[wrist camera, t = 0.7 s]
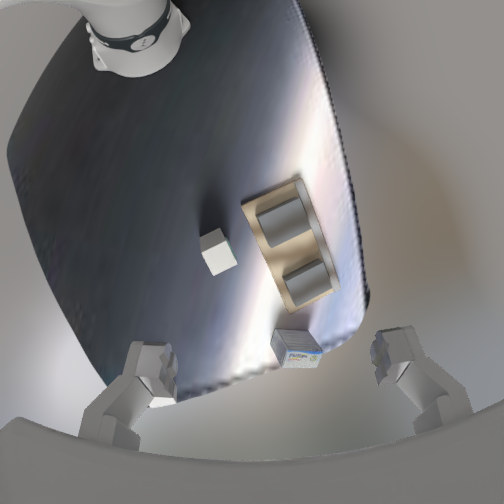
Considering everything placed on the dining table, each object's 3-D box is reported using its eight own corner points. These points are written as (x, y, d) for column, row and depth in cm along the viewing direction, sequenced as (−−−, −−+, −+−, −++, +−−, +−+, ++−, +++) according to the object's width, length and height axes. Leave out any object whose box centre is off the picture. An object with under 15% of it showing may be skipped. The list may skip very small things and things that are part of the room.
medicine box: (269, 344, 61) (280, 368, 53) (274, 327, 60) (287, 350, 52) (302, 346, 63) (317, 369, 54) (308, 329, 62) (324, 351, 53)
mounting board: (240, 205, 51) (244, 207, 48) (299, 178, 52) (307, 179, 49) (288, 312, 59) (293, 320, 56) (338, 285, 60) (346, 292, 57)
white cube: (176, 385, 59) (176, 403, 54) (152, 390, 59) (151, 408, 53) (166, 366, 57) (165, 384, 52) (141, 371, 57) (138, 389, 51)
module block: (199, 237, 52) (201, 252, 42) (221, 226, 52) (228, 239, 42) (209, 256, 53) (213, 275, 43) (230, 246, 53) (239, 263, 44)
